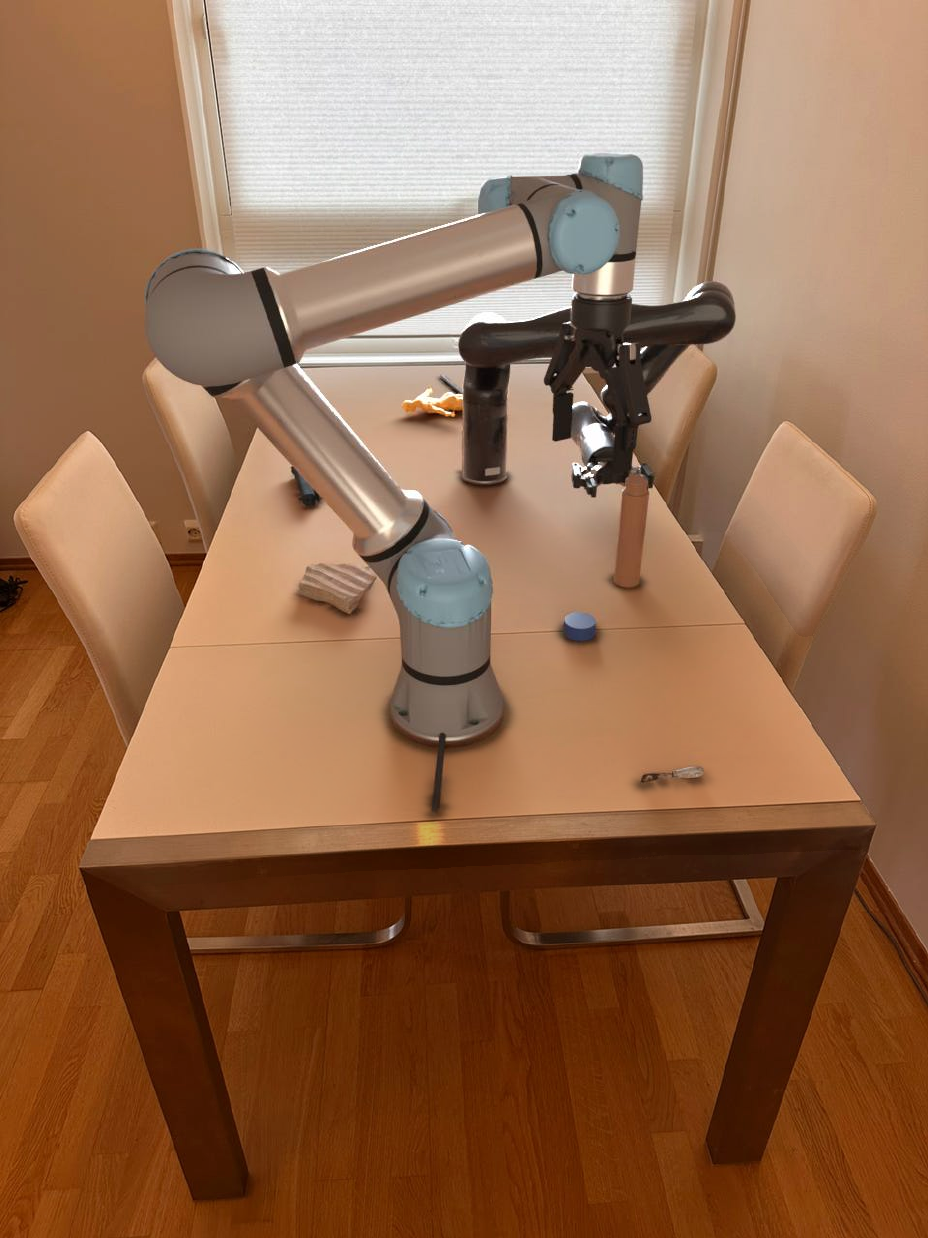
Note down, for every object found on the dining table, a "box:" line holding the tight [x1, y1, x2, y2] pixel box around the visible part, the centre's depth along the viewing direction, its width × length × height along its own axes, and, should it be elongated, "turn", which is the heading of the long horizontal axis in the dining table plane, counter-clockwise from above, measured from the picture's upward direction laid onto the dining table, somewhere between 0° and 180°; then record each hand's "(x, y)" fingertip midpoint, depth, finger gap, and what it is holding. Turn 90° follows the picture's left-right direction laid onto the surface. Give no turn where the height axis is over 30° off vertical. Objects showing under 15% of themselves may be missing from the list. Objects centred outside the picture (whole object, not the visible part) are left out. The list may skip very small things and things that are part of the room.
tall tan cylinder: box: [613, 476, 650, 588], centre depth 146 cm, size 4×4×18 cm
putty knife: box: [640, 765, 705, 784], centre depth 109 cm, size 1×8×2 cm, turn 103°
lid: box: [562, 611, 597, 642], centre depth 137 cm, size 5×5×2 cm
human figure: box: [402, 385, 462, 418], centre depth 225 cm, size 20×20×4 cm
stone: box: [297, 562, 378, 615], centre depth 148 cm, size 13×12×2 cm
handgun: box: [290, 465, 320, 507], centre depth 184 cm, size 3×18×12 cm
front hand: (590, 454), depth 122 cm, fingers open, 13 cm apart
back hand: (619, 492), depth 154 cm, fingers open, 8 cm apart
